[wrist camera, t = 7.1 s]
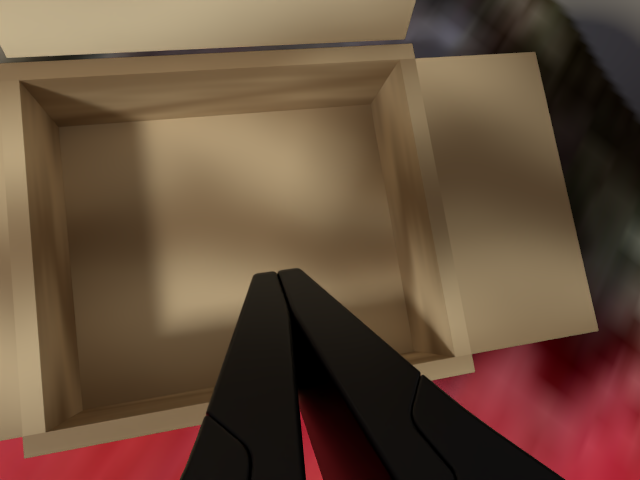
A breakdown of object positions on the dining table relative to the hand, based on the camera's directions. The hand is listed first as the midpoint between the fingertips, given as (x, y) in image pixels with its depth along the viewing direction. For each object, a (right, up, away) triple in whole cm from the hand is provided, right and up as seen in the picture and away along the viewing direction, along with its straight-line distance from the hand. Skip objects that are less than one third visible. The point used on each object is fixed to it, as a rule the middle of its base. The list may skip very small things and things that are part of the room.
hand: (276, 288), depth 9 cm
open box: (-3, +1, +12) cm, 12 cm away
